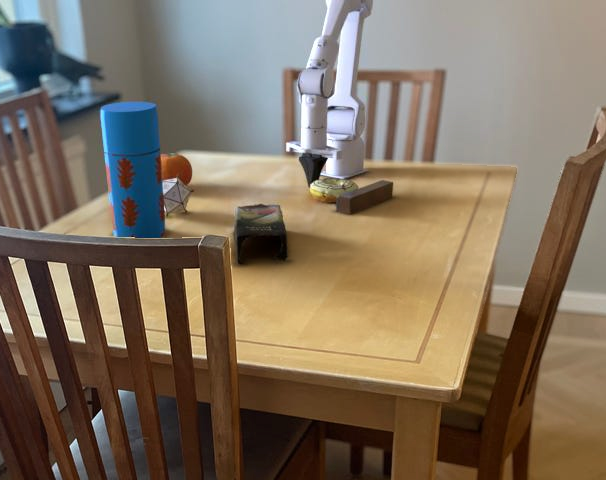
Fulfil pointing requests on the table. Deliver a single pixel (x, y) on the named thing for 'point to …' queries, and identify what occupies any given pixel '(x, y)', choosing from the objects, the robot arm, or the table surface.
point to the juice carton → (259, 226)
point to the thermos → (134, 169)
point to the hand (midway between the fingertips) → (312, 186)
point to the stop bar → (364, 197)
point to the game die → (175, 195)
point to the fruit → (176, 167)
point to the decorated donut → (331, 188)
